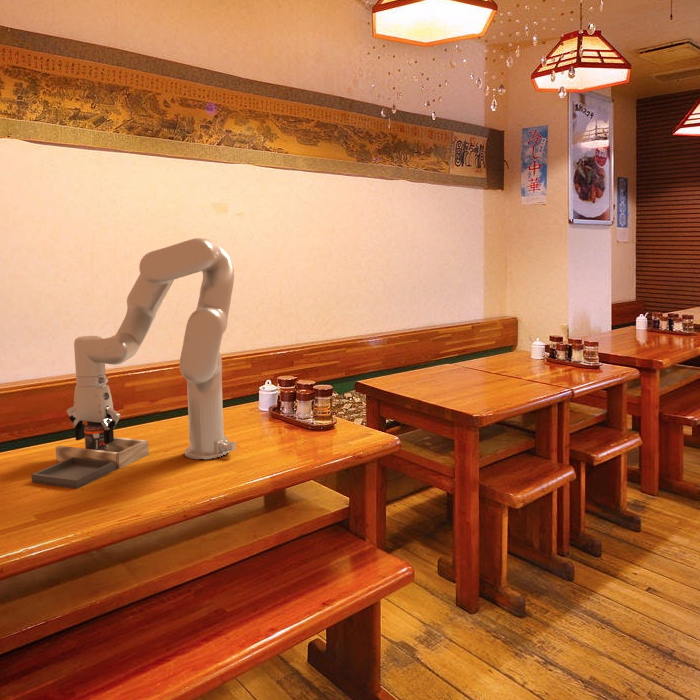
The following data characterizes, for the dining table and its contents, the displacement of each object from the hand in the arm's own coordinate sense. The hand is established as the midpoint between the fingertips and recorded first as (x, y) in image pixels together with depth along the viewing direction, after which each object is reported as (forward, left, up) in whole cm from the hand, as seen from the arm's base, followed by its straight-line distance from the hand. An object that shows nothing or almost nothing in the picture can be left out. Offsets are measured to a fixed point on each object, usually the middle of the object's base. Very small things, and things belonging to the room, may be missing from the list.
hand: (94, 440), depth 172 cm
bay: (-2, 0, -5) cm, 5 cm away
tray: (-5, +14, -5) cm, 16 cm away
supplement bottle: (0, 0, -5) cm, 5 cm away
